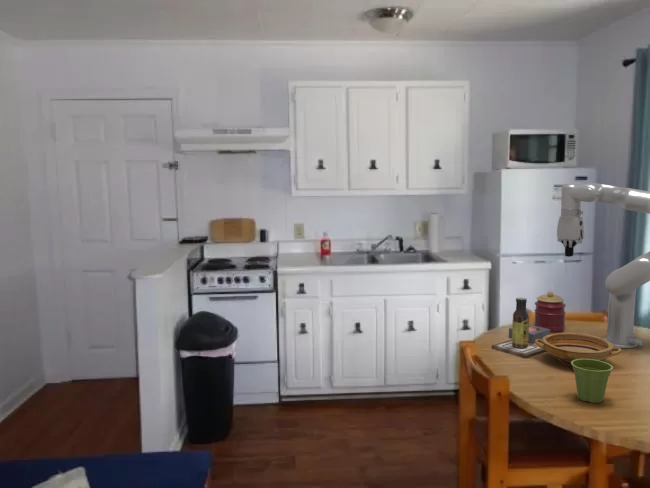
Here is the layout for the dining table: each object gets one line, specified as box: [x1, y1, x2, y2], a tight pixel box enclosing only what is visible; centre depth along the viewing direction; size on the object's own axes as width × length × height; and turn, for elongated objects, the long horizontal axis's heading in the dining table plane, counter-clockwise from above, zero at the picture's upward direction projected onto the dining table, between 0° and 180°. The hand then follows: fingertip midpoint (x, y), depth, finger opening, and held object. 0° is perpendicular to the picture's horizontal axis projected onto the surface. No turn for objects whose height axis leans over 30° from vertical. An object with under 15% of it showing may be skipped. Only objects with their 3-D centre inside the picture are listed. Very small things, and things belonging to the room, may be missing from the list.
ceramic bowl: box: [535, 332, 622, 367], centre depth 206 cm, size 30×24×8 cm
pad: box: [491, 339, 547, 359], centre depth 222 cm, size 16×14×1 cm
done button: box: [529, 327, 537, 332], centre depth 237 cm, size 6×6×3 cm
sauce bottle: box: [511, 297, 530, 348], centre depth 221 cm, size 6×6×20 cm
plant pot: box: [571, 359, 614, 404], centre depth 173 cm, size 12×12×11 cm
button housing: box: [508, 324, 551, 345], centre depth 237 cm, size 12×12×4 cm
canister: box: [533, 291, 566, 334], centre depth 248 cm, size 13×13×18 cm
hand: (569, 256), depth 235 cm, fingers closed
